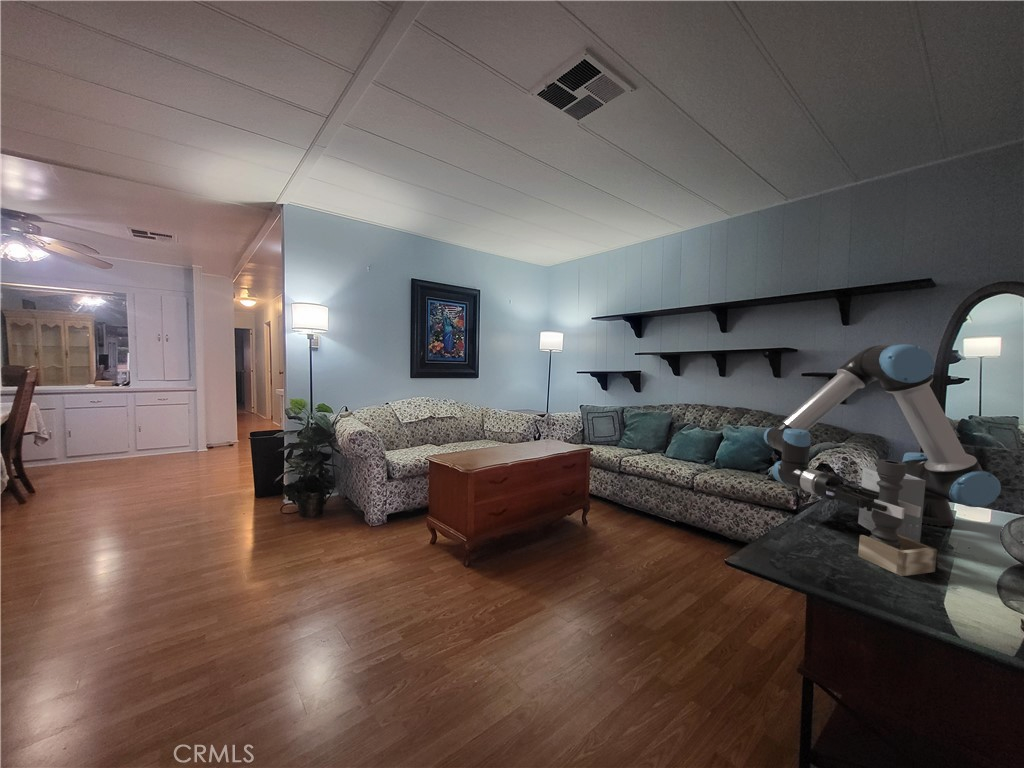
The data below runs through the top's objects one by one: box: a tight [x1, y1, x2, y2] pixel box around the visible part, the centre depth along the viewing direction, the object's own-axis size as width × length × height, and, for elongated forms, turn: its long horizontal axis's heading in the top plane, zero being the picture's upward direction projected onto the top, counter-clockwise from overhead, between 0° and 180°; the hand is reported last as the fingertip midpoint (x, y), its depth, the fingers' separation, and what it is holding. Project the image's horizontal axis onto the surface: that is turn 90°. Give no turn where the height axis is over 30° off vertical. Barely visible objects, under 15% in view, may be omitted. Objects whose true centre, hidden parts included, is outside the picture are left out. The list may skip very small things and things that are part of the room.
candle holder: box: [868, 459, 906, 550], centre depth 107 cm, size 6×6×25 cm
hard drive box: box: [857, 465, 926, 543], centre depth 123 cm, size 16×8×20 cm, turn 168°
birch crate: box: [857, 534, 938, 577], centre depth 105 cm, size 11×10×6 cm
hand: (911, 512), depth 102 cm, fingers closed on candle holder, 5 cm apart
